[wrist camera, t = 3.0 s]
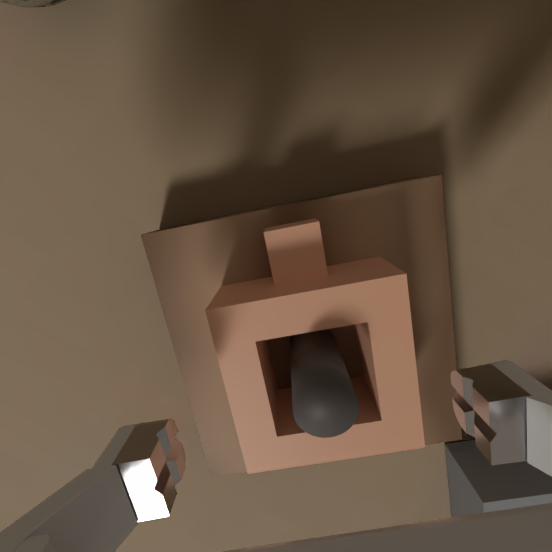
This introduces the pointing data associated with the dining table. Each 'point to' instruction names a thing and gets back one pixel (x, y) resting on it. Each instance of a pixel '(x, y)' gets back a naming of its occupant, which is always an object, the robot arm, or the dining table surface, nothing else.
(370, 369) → the ring
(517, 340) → the dining table surface
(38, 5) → the decorative egg
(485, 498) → the tray
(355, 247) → the base
